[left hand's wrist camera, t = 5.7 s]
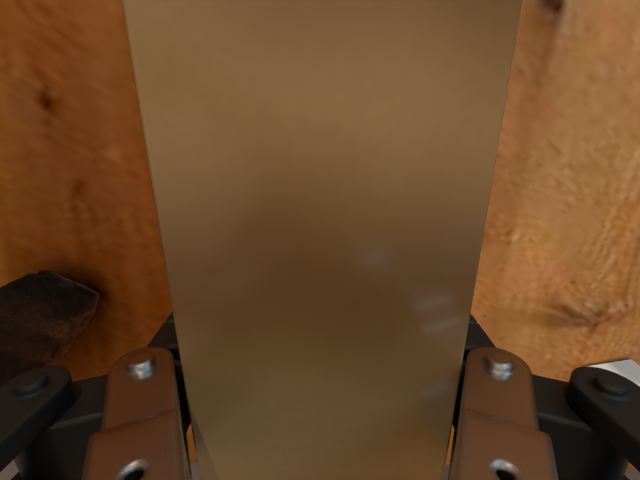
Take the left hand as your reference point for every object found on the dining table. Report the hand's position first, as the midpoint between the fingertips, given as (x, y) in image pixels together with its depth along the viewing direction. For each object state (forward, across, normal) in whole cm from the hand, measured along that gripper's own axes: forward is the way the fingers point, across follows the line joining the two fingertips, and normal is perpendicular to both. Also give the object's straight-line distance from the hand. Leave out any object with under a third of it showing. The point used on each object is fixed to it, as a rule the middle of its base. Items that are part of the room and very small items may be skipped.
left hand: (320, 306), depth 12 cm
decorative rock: (+13, +20, +10) cm, 26 cm away
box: (+7, 0, -9) cm, 11 cm away
